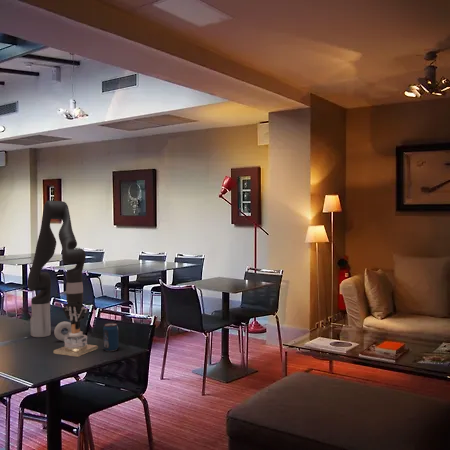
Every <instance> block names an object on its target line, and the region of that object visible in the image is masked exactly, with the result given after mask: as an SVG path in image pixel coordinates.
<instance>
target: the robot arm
mask: <svg viewBox="0 0 450 450" xmlns="http://www.w3.org/2000/svg"><path fill="white" fill-rule="evenodd" d="M52 220H60V221H62V224H61V227H60V229H59V231H58V239H59V242H60V245H61V260H62V262H63V263H64V265H75V267H73V268H70V269H68V270H67V271H66V275H65V276H66V287H65V290H66V293H65V295H66V297H65V298H66V302H67V303H66V306H65V307H62V311H63V313H64V315H65V318H66V319H67V320H69V322H70V323H71V325H72V324H75V328H76V329H79V328H80V329H81V320H84V319H85V318H86V315H87V313H88V311H89V309H88V308H85V307H84V303H83V302H84V285H83V284H84V283H83V270H84V265H85V262H86V258H87V257H86V256H87V255H86V252H85V250H84V249H82V248H77V246H78V242H77V240H76V236H75V234H74V231H73V227H72V221H71V215H70V210H69V206H68V204H67V202H65V201H62V200H47V201H45V203H44V205H43V210H42V218H41V222H40V223H41V225H40V230H39V234H38V239H37V241H36V246H35V247H36V248H35V251H34V252H35V253H34V257H33V260H32V264H31V268H30V269H29V272H28V276H27V281H26V283H27V288H28V290H29V291H31V292H37V291H39V293H38V294H36V295H35V296H33V297H32V298H31V300H30V301H31V302H30V303H31V305H30V306H31V317H30V319H29V322H30V325H29V326H30V336H31V337H33V338H45V337H49V336H51V334H52V333H51V332H52V331H51V326H52V325H51V297H52V296H51V295H52V279H51V275H50V273H49V272H47V271H43V272H42V270H43V268H44V267H45V266H46V264H48V262H49V261H50V260H51V259H52V258H53V256H54V255H55V251H56V247H57V240H56V239H57V238H56V237H55V235H54V233H53V230H52V228H51V221H52Z"/></svg>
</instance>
